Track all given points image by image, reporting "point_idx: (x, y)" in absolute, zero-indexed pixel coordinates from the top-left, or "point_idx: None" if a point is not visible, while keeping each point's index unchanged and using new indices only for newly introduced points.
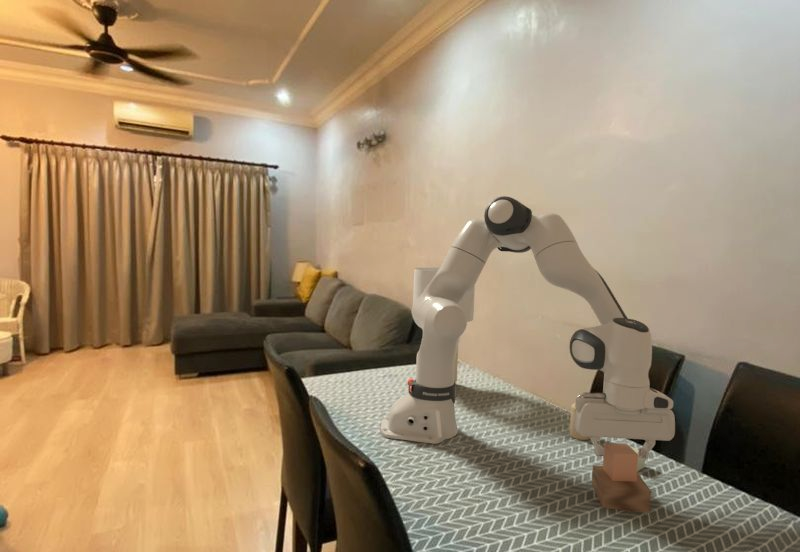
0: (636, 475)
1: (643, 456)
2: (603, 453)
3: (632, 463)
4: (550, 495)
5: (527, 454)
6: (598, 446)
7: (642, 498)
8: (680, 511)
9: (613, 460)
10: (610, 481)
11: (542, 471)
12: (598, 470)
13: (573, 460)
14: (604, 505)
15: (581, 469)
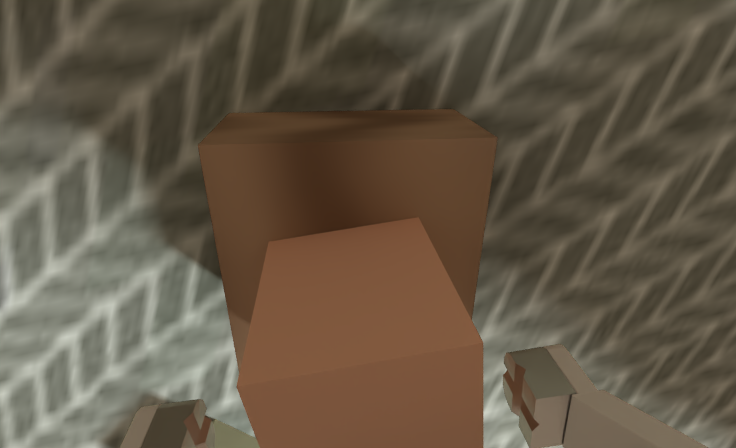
0: (266, 263)
1: (178, 413)
2: (522, 367)
3: (296, 312)
4: (660, 164)
5: None
6: (609, 409)
7: (260, 129)
8: (61, 162)
9: (459, 303)
10: (434, 208)
11: (603, 337)
12: None
13: None
14: (452, 112)
15: None
